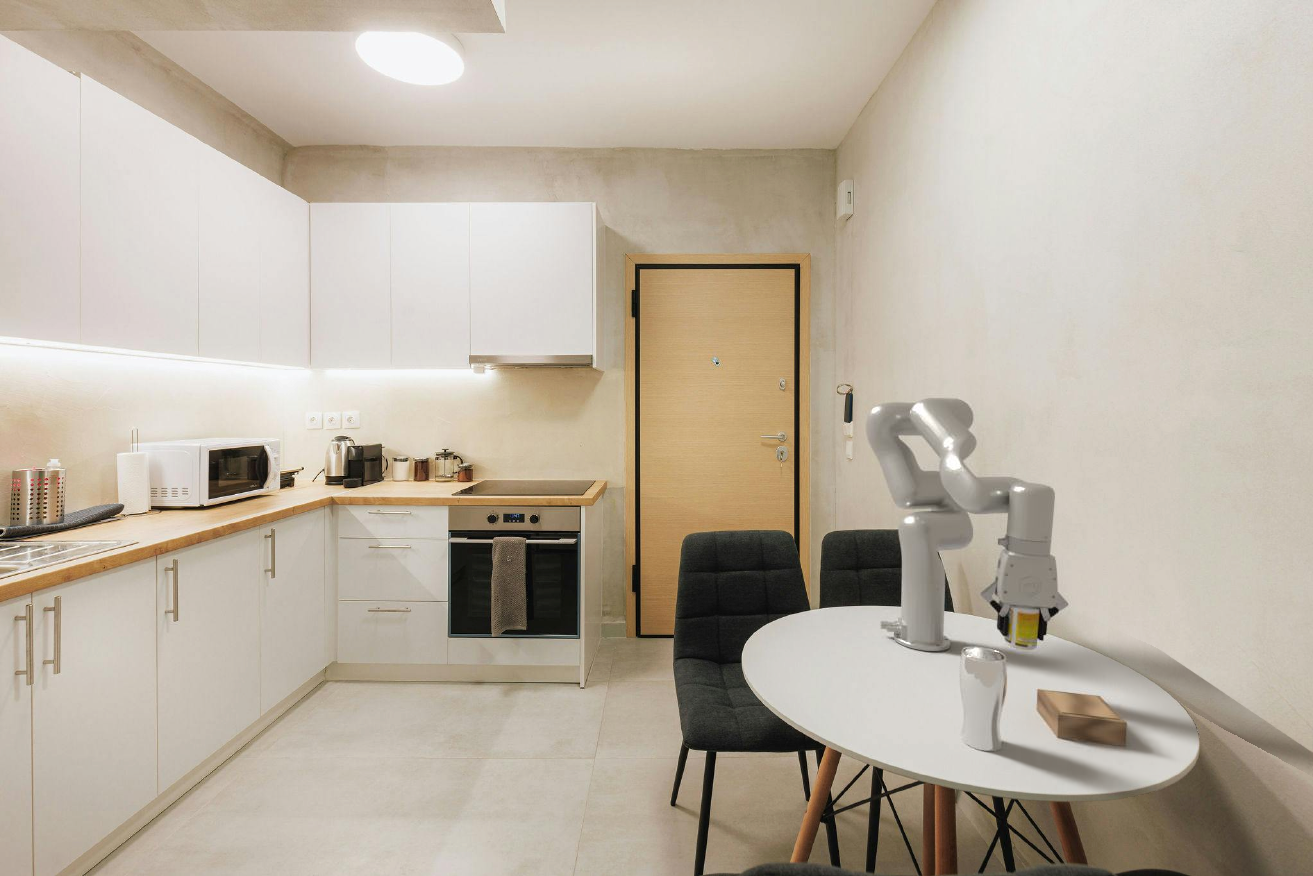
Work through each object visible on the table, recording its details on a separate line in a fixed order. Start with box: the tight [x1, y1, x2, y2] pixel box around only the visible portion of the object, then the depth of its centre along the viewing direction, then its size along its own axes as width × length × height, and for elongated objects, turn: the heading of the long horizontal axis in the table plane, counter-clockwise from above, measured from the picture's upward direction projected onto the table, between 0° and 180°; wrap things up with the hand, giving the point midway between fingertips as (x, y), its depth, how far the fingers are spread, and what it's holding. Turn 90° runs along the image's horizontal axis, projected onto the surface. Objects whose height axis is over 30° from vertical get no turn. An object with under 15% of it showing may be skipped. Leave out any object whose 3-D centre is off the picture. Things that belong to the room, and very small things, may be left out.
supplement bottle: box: [1004, 605, 1039, 651], centre depth 120 cm, size 6×6×10 cm
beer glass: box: [959, 645, 1008, 752], centre depth 101 cm, size 7×7×15 cm
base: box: [1036, 688, 1128, 747], centre depth 106 cm, size 10×10×4 cm
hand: (1020, 635), depth 120 cm, fingers closed on supplement bottle, 5 cm apart
